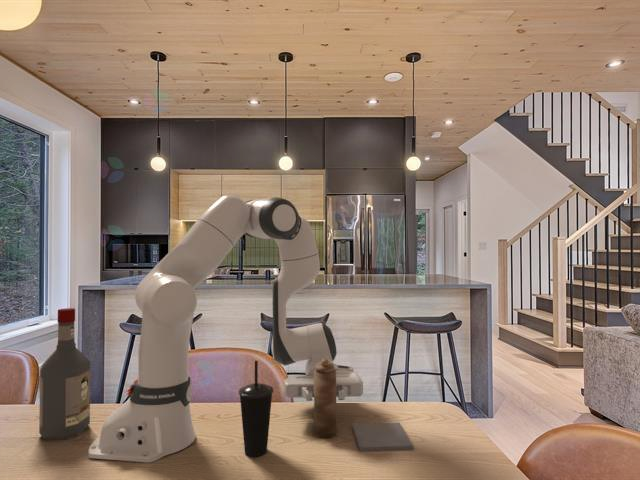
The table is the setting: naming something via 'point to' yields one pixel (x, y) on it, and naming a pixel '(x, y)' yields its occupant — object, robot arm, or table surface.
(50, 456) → the table surface
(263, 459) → the table surface
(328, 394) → the pepper mill
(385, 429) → the trivet
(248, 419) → the drinking cup
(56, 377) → the liquor
